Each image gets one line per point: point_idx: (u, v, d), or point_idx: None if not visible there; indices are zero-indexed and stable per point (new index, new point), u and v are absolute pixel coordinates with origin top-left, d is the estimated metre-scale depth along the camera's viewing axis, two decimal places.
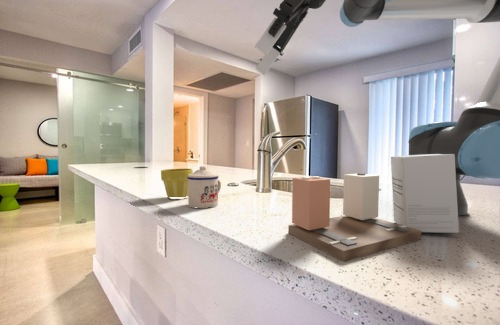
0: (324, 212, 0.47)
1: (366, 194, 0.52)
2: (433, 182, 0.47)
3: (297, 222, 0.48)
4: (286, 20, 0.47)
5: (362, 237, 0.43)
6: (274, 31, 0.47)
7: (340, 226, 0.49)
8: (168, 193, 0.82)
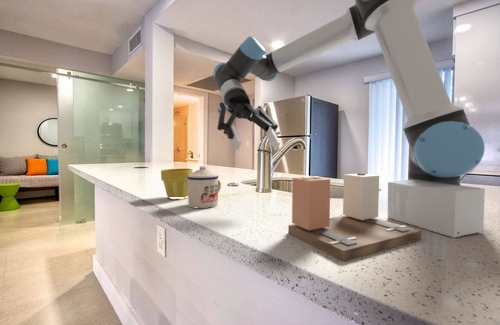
0: (324, 212, 0.47)
1: (366, 194, 0.52)
2: (426, 211, 0.51)
3: (297, 222, 0.48)
4: (227, 125, 0.66)
5: (362, 237, 0.43)
6: (229, 134, 0.65)
7: (340, 226, 0.49)
8: (168, 193, 0.82)
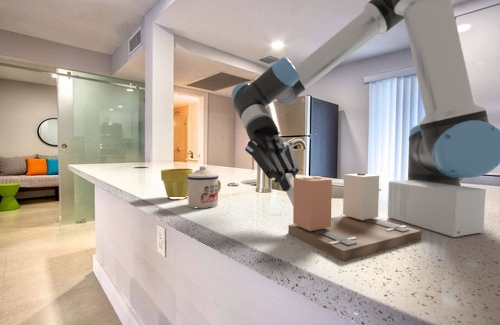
0: (326, 213, 0.46)
1: (366, 194, 0.52)
2: (427, 211, 0.51)
3: (298, 223, 0.48)
4: (282, 174, 0.54)
5: (362, 237, 0.43)
6: (284, 186, 0.52)
7: (340, 226, 0.49)
8: (168, 193, 0.82)
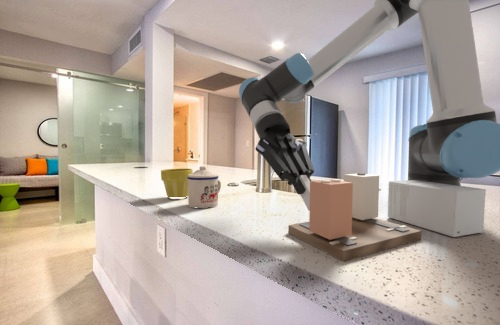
0: (346, 219, 0.42)
1: (366, 194, 0.52)
2: (427, 211, 0.51)
3: (315, 230, 0.43)
4: (296, 176, 0.49)
5: (362, 237, 0.43)
6: (299, 189, 0.48)
7: None
8: (168, 193, 0.82)
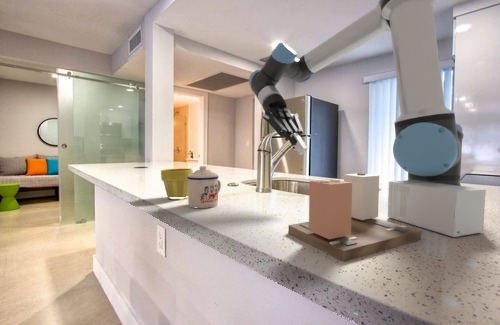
0: (346, 219, 0.42)
1: (366, 194, 0.52)
2: (427, 211, 0.51)
3: (315, 230, 0.43)
4: (291, 133, 0.74)
5: (362, 237, 0.43)
6: (292, 141, 0.72)
7: None
8: (168, 193, 0.82)
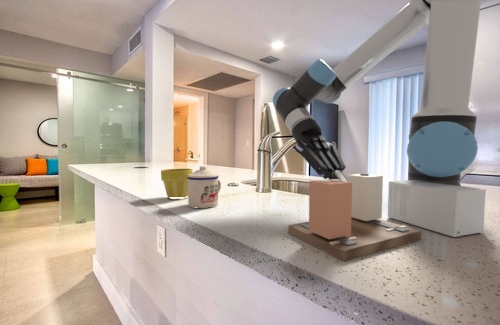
0: (346, 219, 0.42)
1: (369, 195, 0.51)
2: (427, 211, 0.51)
3: (315, 230, 0.43)
4: (332, 171, 0.60)
5: (362, 237, 0.43)
6: None
7: None
8: (168, 193, 0.82)
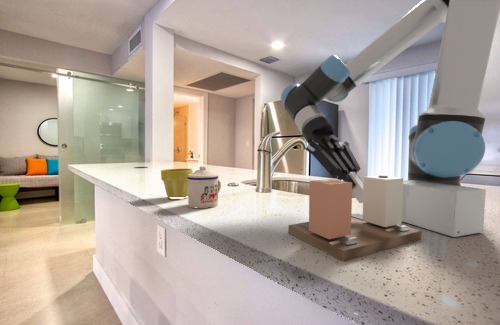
0: (346, 219, 0.42)
1: (389, 199, 0.47)
2: (427, 211, 0.51)
3: (315, 230, 0.43)
4: (346, 172, 0.56)
5: (362, 237, 0.43)
6: None
7: None
8: (168, 193, 0.82)
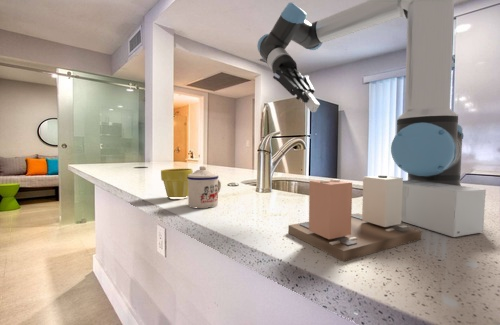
0: (346, 219, 0.42)
1: (389, 199, 0.47)
2: (427, 211, 0.51)
3: (315, 230, 0.43)
4: (302, 90, 0.72)
5: (362, 237, 0.43)
6: (304, 98, 0.70)
7: None
8: (168, 193, 0.82)
